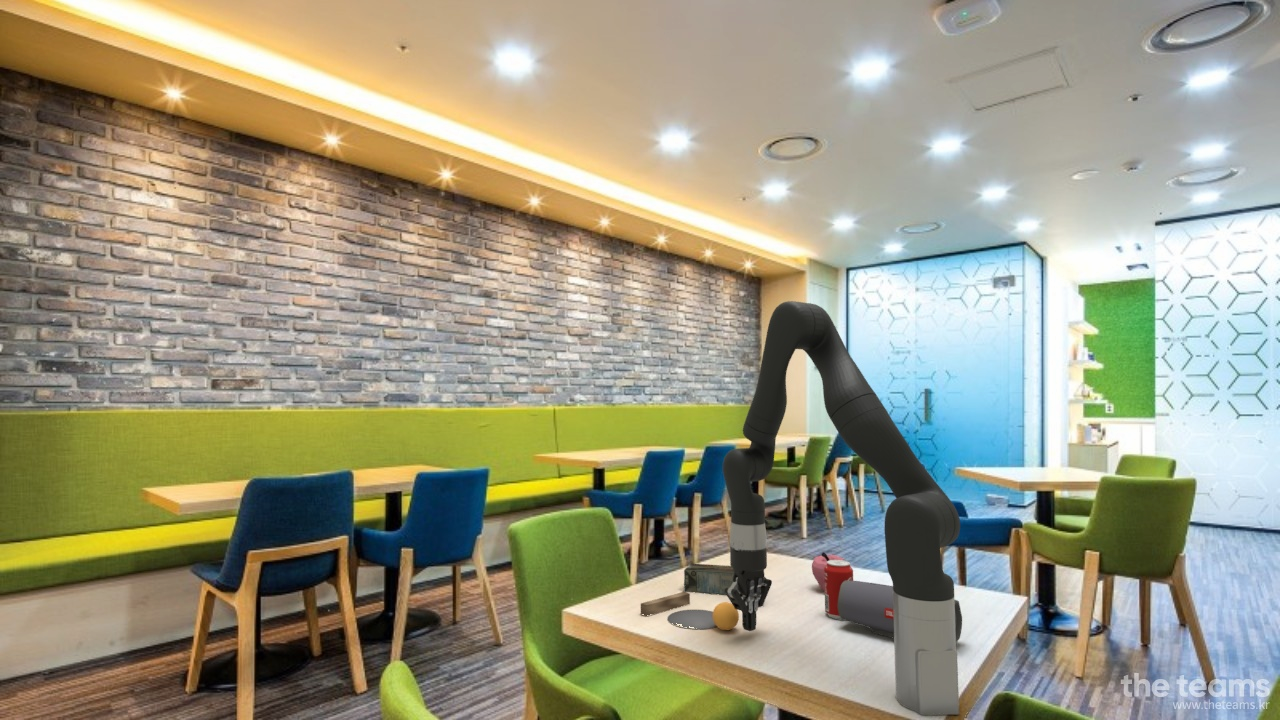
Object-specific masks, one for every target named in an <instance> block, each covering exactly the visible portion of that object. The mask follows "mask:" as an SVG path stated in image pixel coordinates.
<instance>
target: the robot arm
mask: <svg viewBox="0 0 1280 720" xmlns="http://www.w3.org/2000/svg"><path fill="white" fill-rule="evenodd" d="M763 347H764V348H763V353H762V359H761V364H760V370H759V374H758V379H757V384H756V387H755V391H754V394H753V398H752V401H751V404H750V406H749V409H748V412H747V414H746V418H745V420H744V423H743V427H742V434H743V436H744V437H745V438H746V439H747V440H748V441H750V445H749V447H746V448H745V447H744V448H742V447H741V448H734V449H731V450H728V452H727V453H726V455H725V456H724V458H723V461H722V474H723V478H724V482H725V485H726V491H727V494H728V498H729V501H730V529H729V531H730V532H729V553H730V554H729V555H730V556H729V559H730V560H729V561H730V563H729V564H730V565H729V566H731V567H732V568H733V570H734V575H733V579H732V580H733V584H732V585H731V587H730V588H728V587H726V588H725V593H726V595H725V596H726V597H727V598H728V600H729V601H730V603H731V604H732V605H733V606H734V608H735V609H737V610H739V611H741V616H742V618H741V619H742V628H743V630H745V631H747V632H752V631H753V632H754V630H756V629H757V612H758V611H759V608H760V607H763V606H764V604H765V601H766V599H767V596H768V593H769V591H770V589H771V586H772V584H773V581H772V579H769V578H766V576H765V570H766V569H767V566H768V558H767V555H768V549H767V545H768V544H767V542H768V541H767V529H766V506H765V504H766V503H765V499H764V497H763V496H762V495H761V494H759V493H756V492H753V491H752V487H751V482H760V481H762V480H764V479H766V478H767V477H768V476H769V475H770V473H771V471H772V469H773V466H774V463H775V451H776V441H777V440H776V439H777V435H778V434H779V430H780V427H781V425H782V422H783V419H784V417H785V413H786V410H787V404H788V399H787V398H788V395H787V382H786V381H787V380H786V379H787V371H788V366H789V364H790V361H791V359H792V358H793V355H794V353H795V351H796V350H803V351H804V352H805V353H806V354H807V355H808V357H809V358H810V360H811V361H812V363H813V365H814V366H815V368H816V369H817V371H818V373H819V375H820V377H821V382H822V391H823V401H824V403H823V404H824V407H825V411H826V413H827V415H828V417H829V419H830V421H831V423H832V425H833V427H835V429H836V430H837V432H838V434H839V435H840V438H841V439H842V440H843V442H844V443H845V444H846V446H847V447H849V449H850V450H851V451H853V452H854V454H855V455H857V456H858V458H860V459H861V460H862V461H864V463H866V464H867V465H868V466H869V467H871V468H872V469H873V470H874V471H875V472H876V473H877V474H878V475H879V476H880V477H881V478H882V479H883V480H884V481H885V483H886V485H888V487H889V489H890V490H891V492H892V493H893V495H894V497H895V499H893V500H892V501H891V502H890V504H889V505H888V506H887V509H886V512H885V516H884V541H885V543H884V544H885V557H886V567H887V572H888V574H889V576H890V579H891V582H892V586H893V613H894V638H893V640H894V641H893V643H894V674H895V698H896V700H897V702H898V703H899V704H901V705H902V706H903V707H906V708H908V709H910V710H913V711H915V712H916V713H917V714H919V715H923V716H925V715H927V716H928V715H930V716H931V715H932V716H933V715H934V716H935V715H939V716H940V715H960V700H959V697H960V696H959V695H960V694H959V674H958V673H959V671H958V670H959V669H958V667H959V666H958V663H959V662H958V653H957V642H956V633H955V600H956V599H955V584H954V580H953V578H952V576H950V575H949V574H947V573H945V572H944V570H943V564H942V553H941V549H942V548H944V547H948V546H949V545H951V544H953V543H954V542H955V541H956V540H957V539H958V538H959V536H960V532H961V531H960V530H961V520H960V515H959V513H958V510H957V509H956V507H955V505H954V503H953V502H952V501H951V499H950V498H949V497H948V495H947V493H945V491H944V490H943V489H942V488H941V486H940V485H939V484H938V483H937V482H936V481H935V479H934V478H933V477H932V475H931V474H930V473H929V471H928V470H927V469H926V468H925V467H924V465H923V464H922V463H921V461H920V460H919V459H918V457H917V456H916V454H915V452H914V451H913V449H911V446H910V445H909V443H908V442H907V440H906V439H905V437H904V436H903V434H902V433H901V431H900V429H899V428H898V426H897V425H896V424H895V422H894V421H893V419H892V417H891V416H890V414H889V412H888V410H887V408H886V407H885V406H884V404H883V402H882V401H881V400H880V398H879V397H878V395H877V394H876V392H875V391H874V390H873V388H872V387H871V384H869V382H868V380H866V378H865V376H864V374H863V372H862V371H861V369H860V368H859V367H858V365H857V363H856V362H855V360H854V359H853V358H852V356H851V355H850V353H849V351H848V350H847V347H846V346H845V344H844V342H843V340H842V338H841V336H840V334H839V332H838V329H837V327H836V325H835V324H834V322H833V320H832V318H831V316H830V314H828V312H827V311H826V310H825V309H824V308H823V307H822V306H820V305H818V304H815V303H811V302H810V303H809V302H801V301H795V300H794V301H793V300H788V301H784V302H782V303H780V304H779V305H777V306H776V307H775V309H774V310H773V312H772V314H771V316H770V319H769V322H768V326H767V331H766V337H765V341H764V346H763ZM763 570H764V571H763ZM760 595H761V597H760ZM745 601H746V602H745Z"/></svg>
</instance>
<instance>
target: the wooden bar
mask: <svg viewBox="0 0 1280 720" xmlns="http://www.w3.org/2000/svg"><path fill="white" fill-rule="evenodd" d="M690 593H691V592H685V591H682V592H679V593H674V594H670V595H667V596H663V597H659V598H657V599H652V600H649V601H648V600H647V601H645V602H644V601H643V602H641V603H640V615H641V614H644V615H646V616H647V615H650V614H654V613H658V614H660V613H659V612H661V613H664V612H667V611H666V610H668V611H671V610H674V609H673V608H675V609H678V608H681V606H682V607H685V606H688V605H691V598H690V597H691V594H690ZM684 605H685V606H684ZM677 607H678V608H677ZM670 609H671V610H670ZM663 611H664V612H663ZM654 615H655V614H654ZM646 616H645V617H646ZM647 617H648V616H647Z"/></svg>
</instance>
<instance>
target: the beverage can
mask: <svg viewBox="0 0 1280 720" xmlns="http://www.w3.org/2000/svg"><path fill="white" fill-rule="evenodd" d="M846 580H847V581H854V569H853V568H852V566H851V562H849V561H846V560H844V561H843V560H829V561H827V565H826V566H825V567H824V586H825V591H824V611H825V613H826V614H827V615H828V617H829V616H830V618H831V617H832V618H831V619H834V618H836V619H835V620H839V619H842V618H841V617H840V615H839V613H838V607H837V604H838V597H839V592H840V587H841V584H842V583H843V582H844V581H846Z"/></svg>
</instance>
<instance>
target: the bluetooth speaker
mask: <svg viewBox="0 0 1280 720" xmlns="http://www.w3.org/2000/svg"><path fill="white" fill-rule="evenodd" d="M954 600H955V633H956V643H958V641H959V640H960V638H961V636H962V627H963V616H962V611H961V606H960V601H959V600H958V599H954ZM837 607H838V613H839V615H840V617H841V618H842V619H844V621H847V622H850V623H852V624H856V625H861V626H864V627H867V628H869V629H870V630H871V632H872V633H874V634H877V635H881V636H883V637H889V638H892V637H893V639H894V613H893V585H888V584H883V583H882V584H881V583H876V582H875V583H874V582H867V581H860V580H853V581H847V580H846V581H844V582H843V583H842V584H841V587H840V592H839V597H838V604H837Z"/></svg>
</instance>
